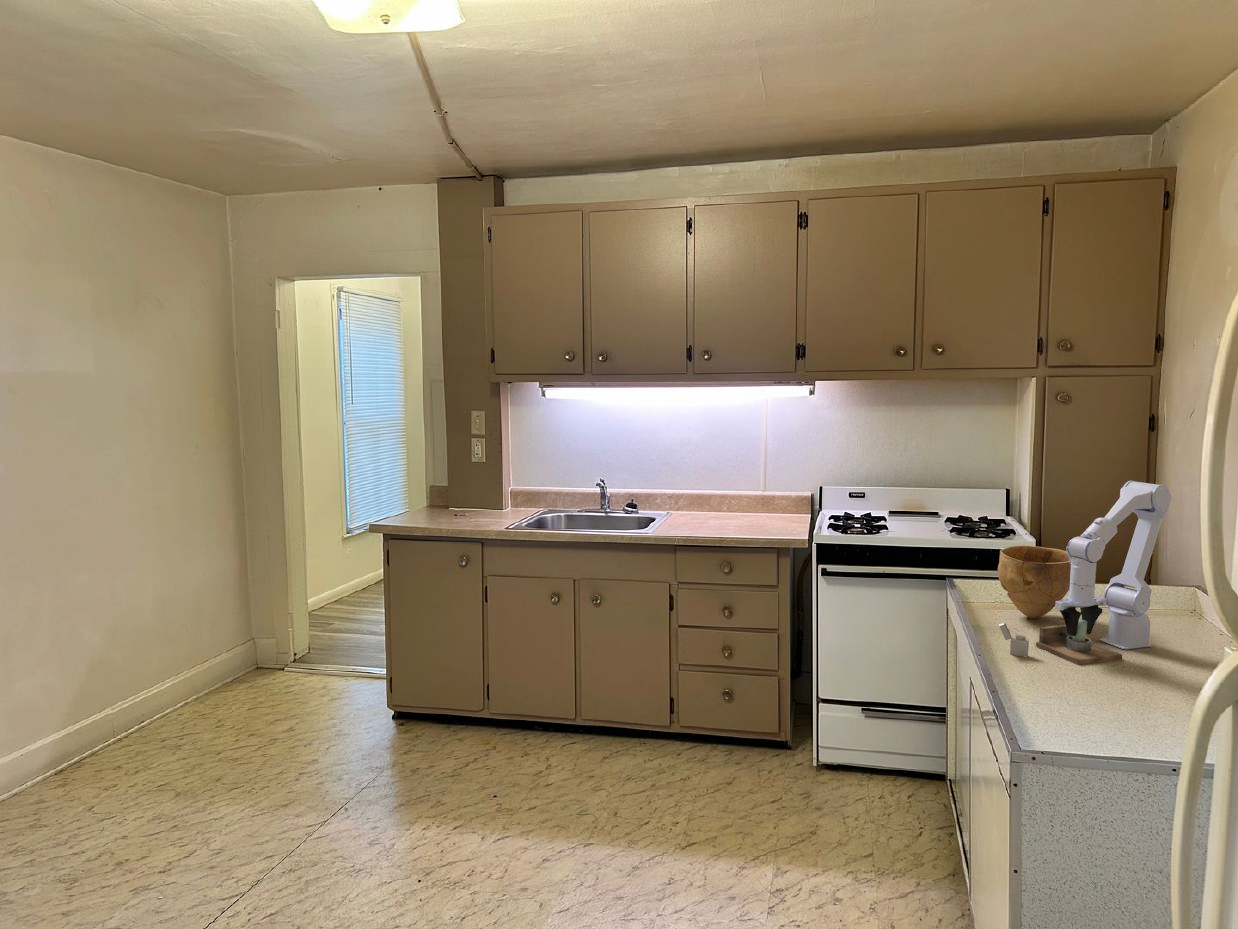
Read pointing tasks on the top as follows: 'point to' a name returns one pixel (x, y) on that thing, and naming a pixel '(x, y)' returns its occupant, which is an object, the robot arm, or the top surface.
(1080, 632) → the peg
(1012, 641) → the lighter
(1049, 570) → the bowl
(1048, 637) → the cup bracket
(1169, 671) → the top surface
